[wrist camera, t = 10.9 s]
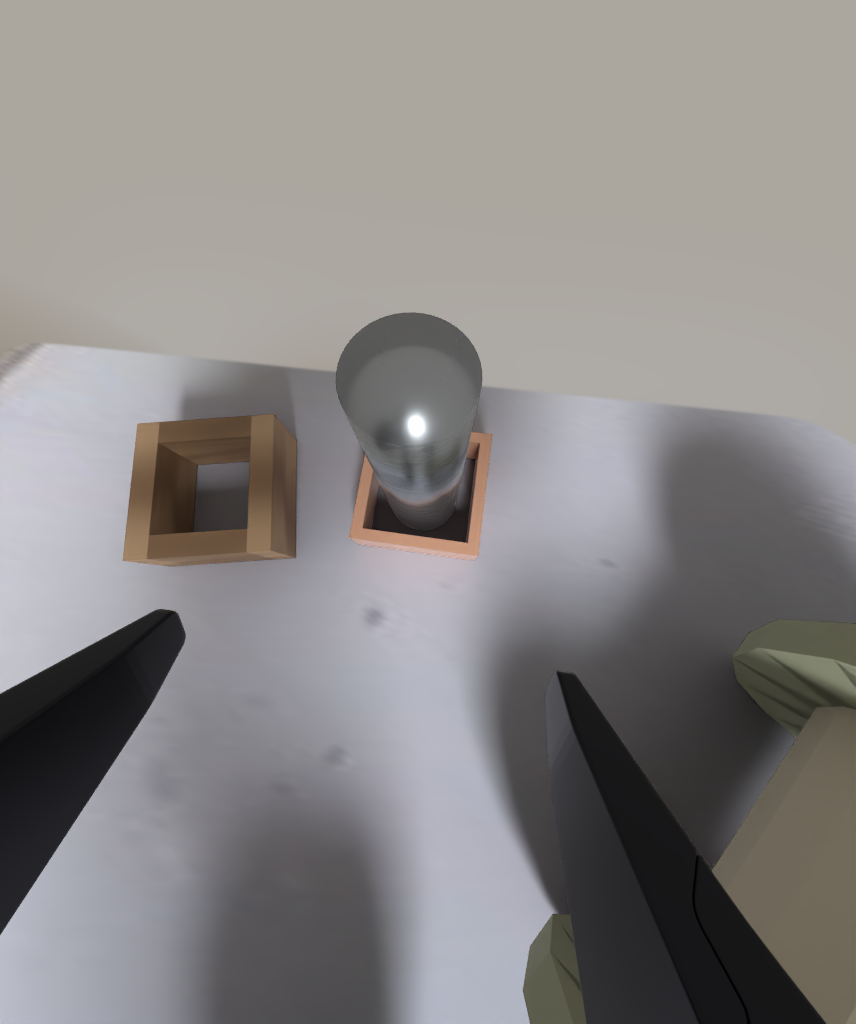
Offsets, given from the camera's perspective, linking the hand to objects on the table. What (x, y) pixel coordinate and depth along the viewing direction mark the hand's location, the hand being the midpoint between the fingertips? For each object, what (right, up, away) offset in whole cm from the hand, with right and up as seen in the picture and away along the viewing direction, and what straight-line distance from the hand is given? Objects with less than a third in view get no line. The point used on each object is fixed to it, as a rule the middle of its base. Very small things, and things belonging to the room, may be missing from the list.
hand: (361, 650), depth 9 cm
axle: (+1, +4, +14) cm, 15 cm away
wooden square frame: (-10, +4, +14) cm, 18 cm away
